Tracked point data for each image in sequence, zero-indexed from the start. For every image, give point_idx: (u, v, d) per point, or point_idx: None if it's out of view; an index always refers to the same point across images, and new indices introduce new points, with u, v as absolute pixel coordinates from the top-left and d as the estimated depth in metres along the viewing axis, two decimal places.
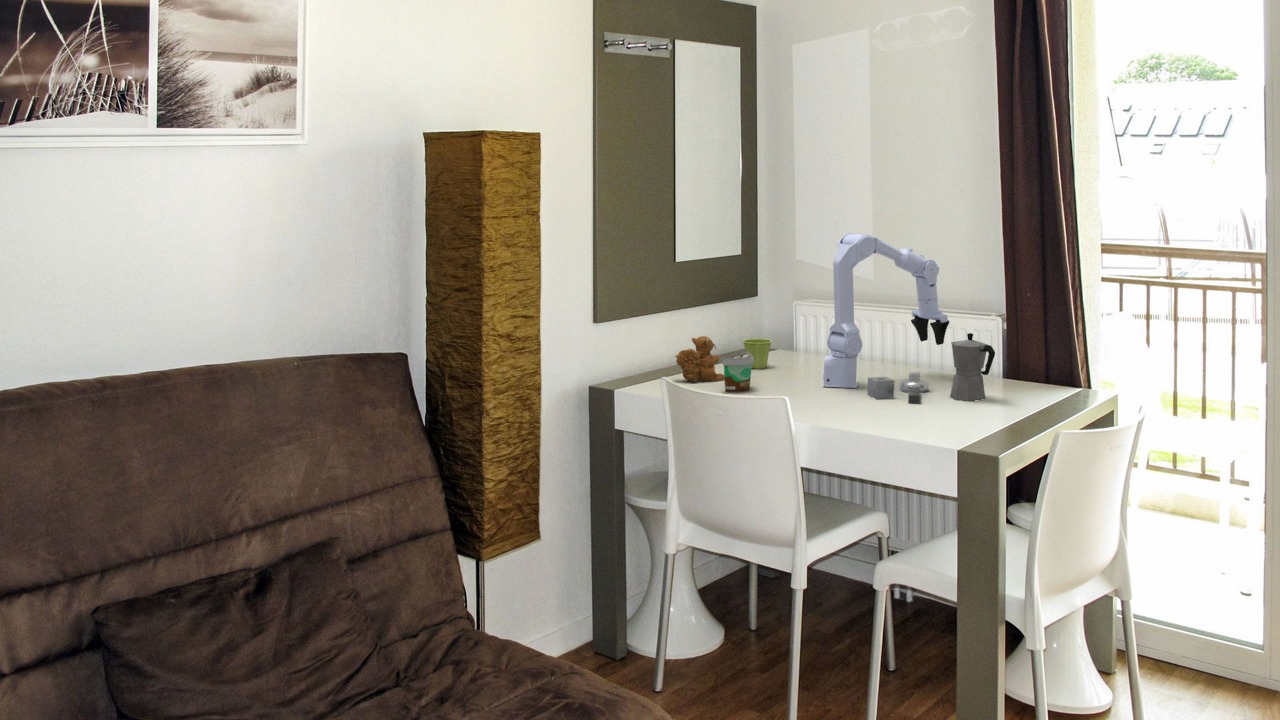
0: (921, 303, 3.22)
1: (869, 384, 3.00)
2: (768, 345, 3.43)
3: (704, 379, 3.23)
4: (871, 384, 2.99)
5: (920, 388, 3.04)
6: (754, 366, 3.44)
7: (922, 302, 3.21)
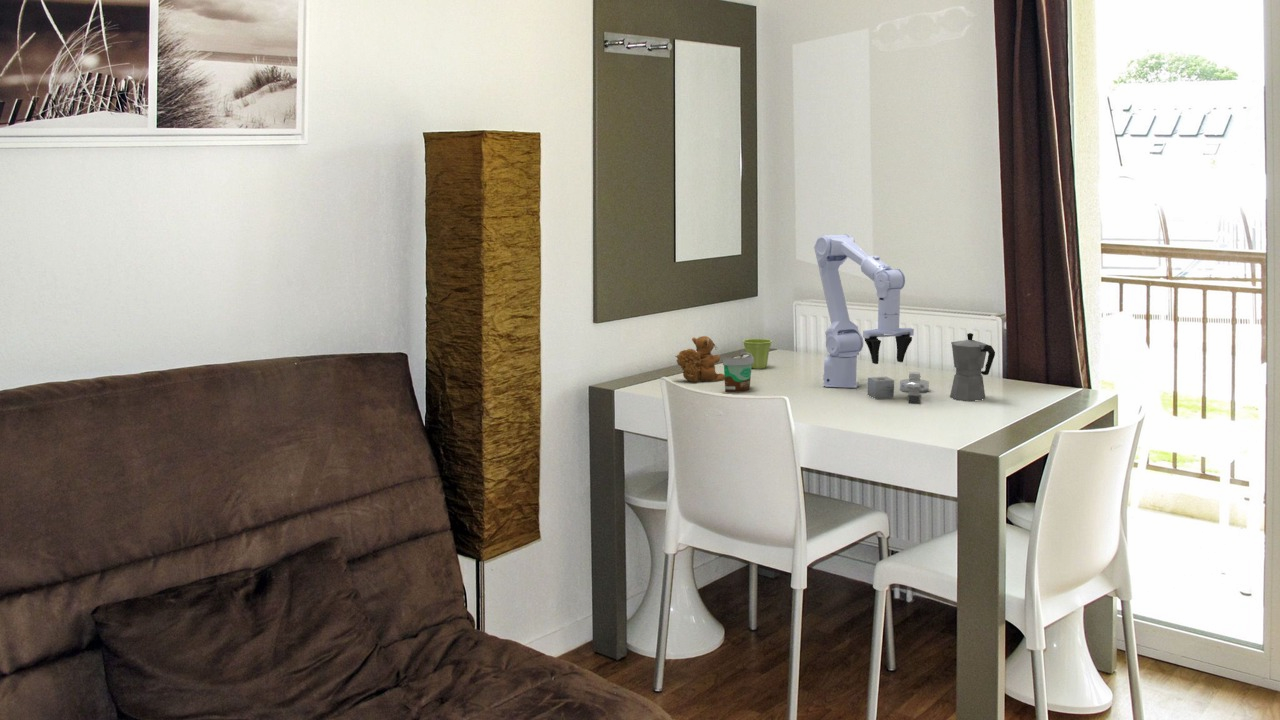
0: None
1: (869, 384, 3.00)
2: (768, 345, 3.43)
3: (704, 379, 3.23)
4: (871, 384, 2.99)
5: (920, 388, 3.04)
6: (754, 366, 3.44)
7: None
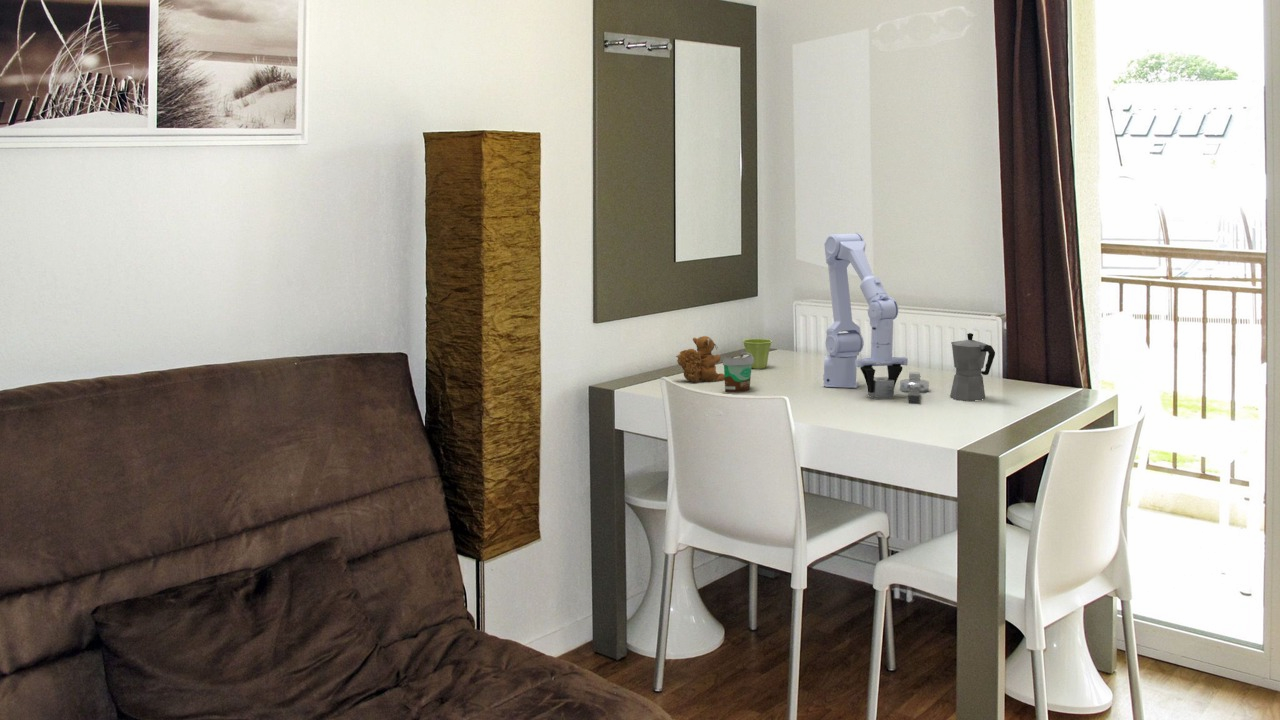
0: None
1: None
2: (768, 345, 3.43)
3: (705, 379, 3.23)
4: None
5: (920, 388, 3.04)
6: (754, 366, 3.44)
7: None
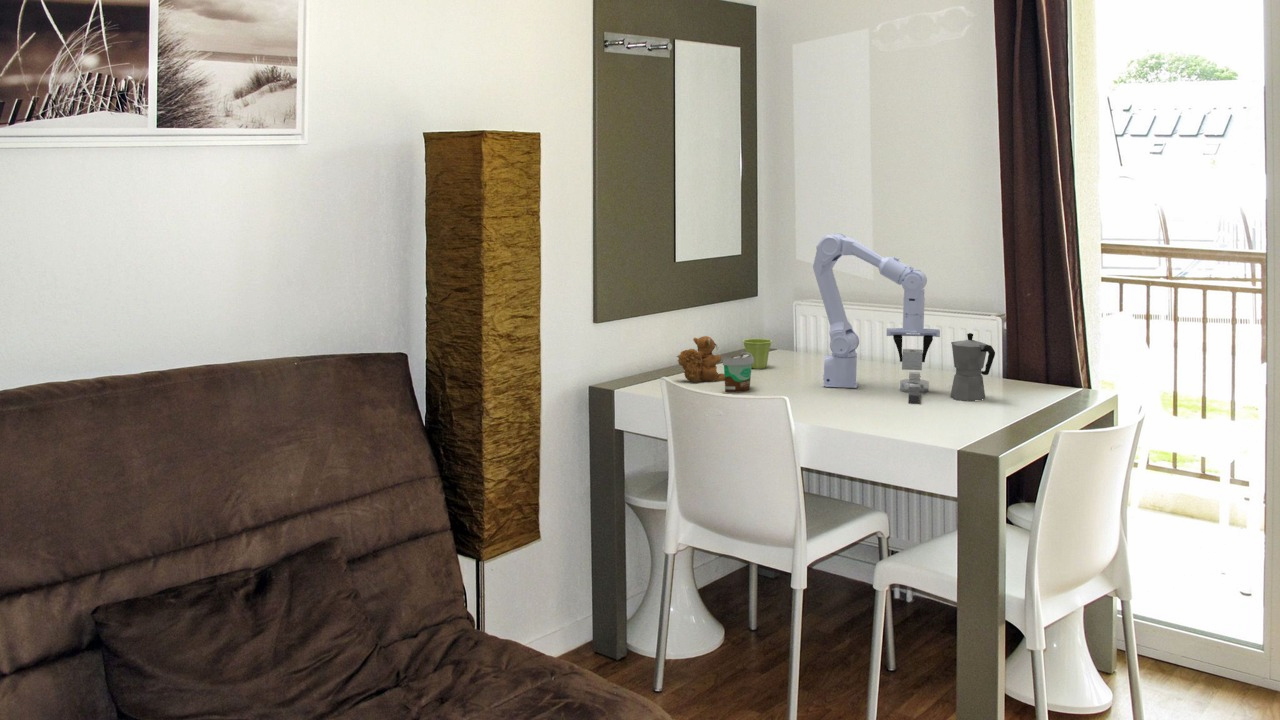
0: None
1: None
2: (768, 345, 3.43)
3: (706, 379, 3.23)
4: None
5: (920, 388, 3.04)
6: (754, 366, 3.44)
7: None
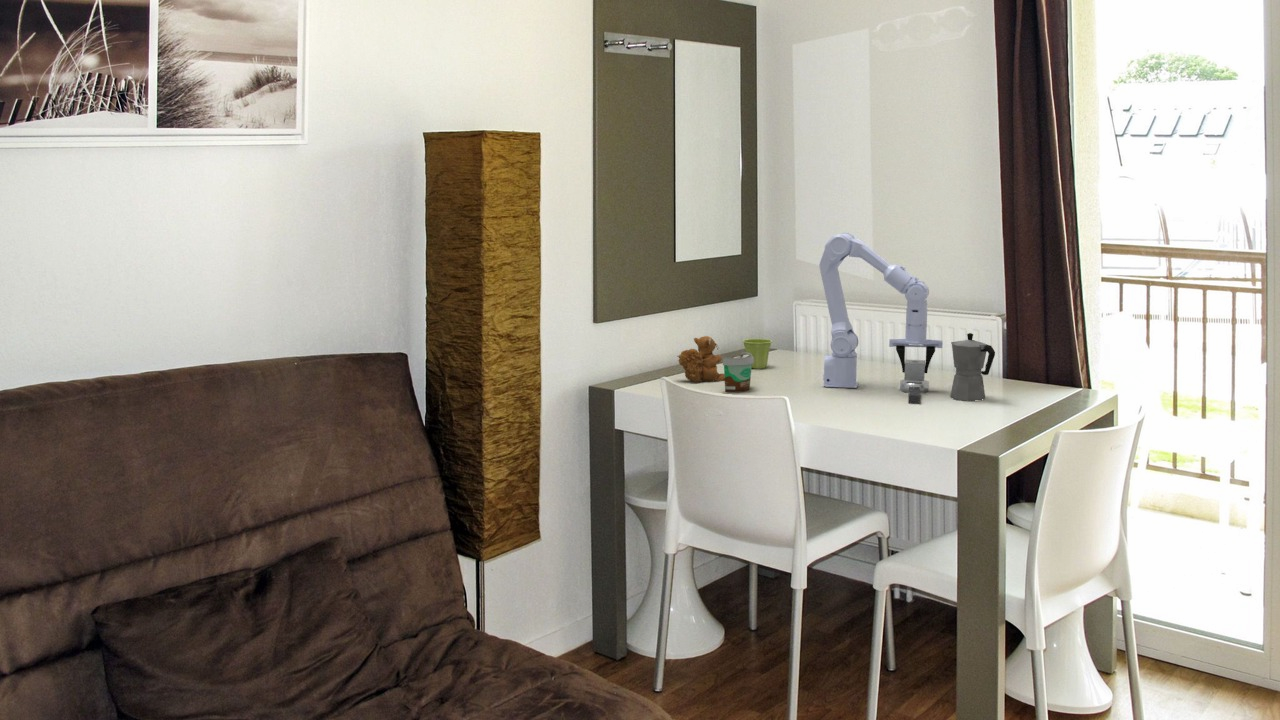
0: None
1: None
2: (768, 345, 3.43)
3: (706, 379, 3.23)
4: None
5: (920, 388, 3.04)
6: (754, 366, 3.44)
7: None
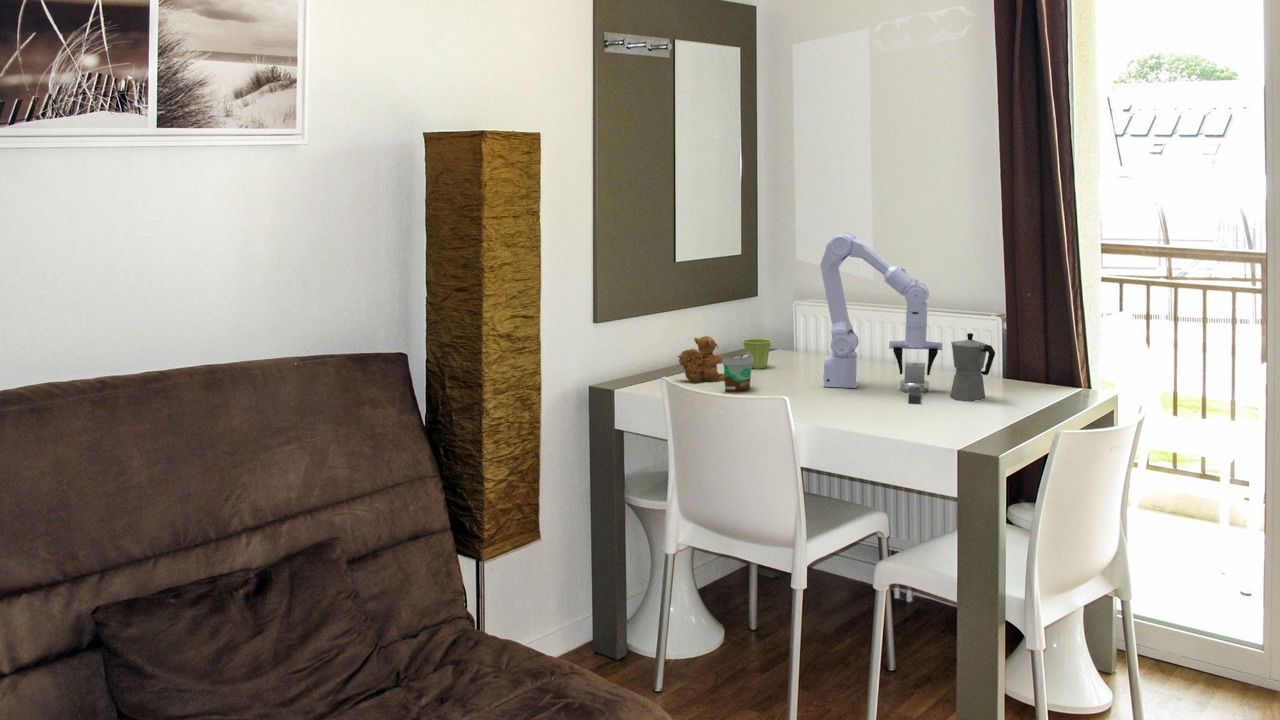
0: None
1: None
2: (768, 345, 3.43)
3: (707, 379, 3.23)
4: None
5: (920, 388, 3.04)
6: (754, 366, 3.44)
7: None
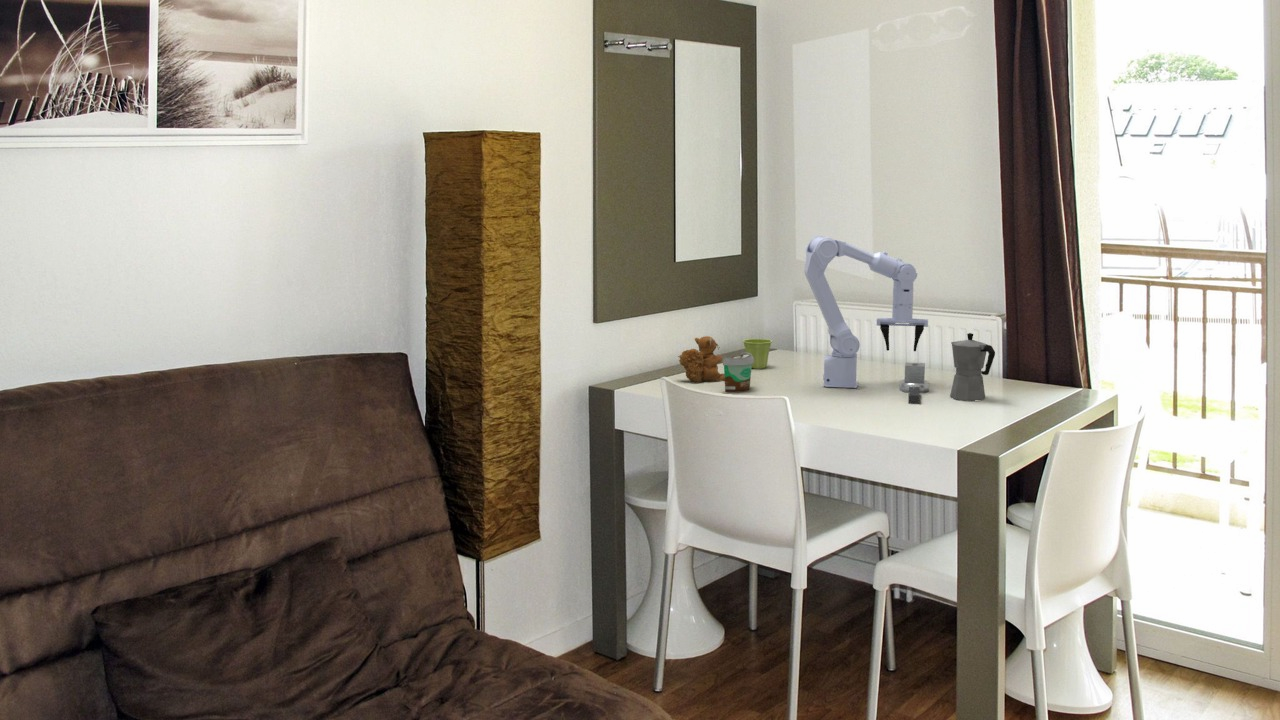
0: None
1: None
2: (768, 345, 3.43)
3: (707, 379, 3.23)
4: None
5: (920, 388, 3.04)
6: (754, 366, 3.44)
7: None
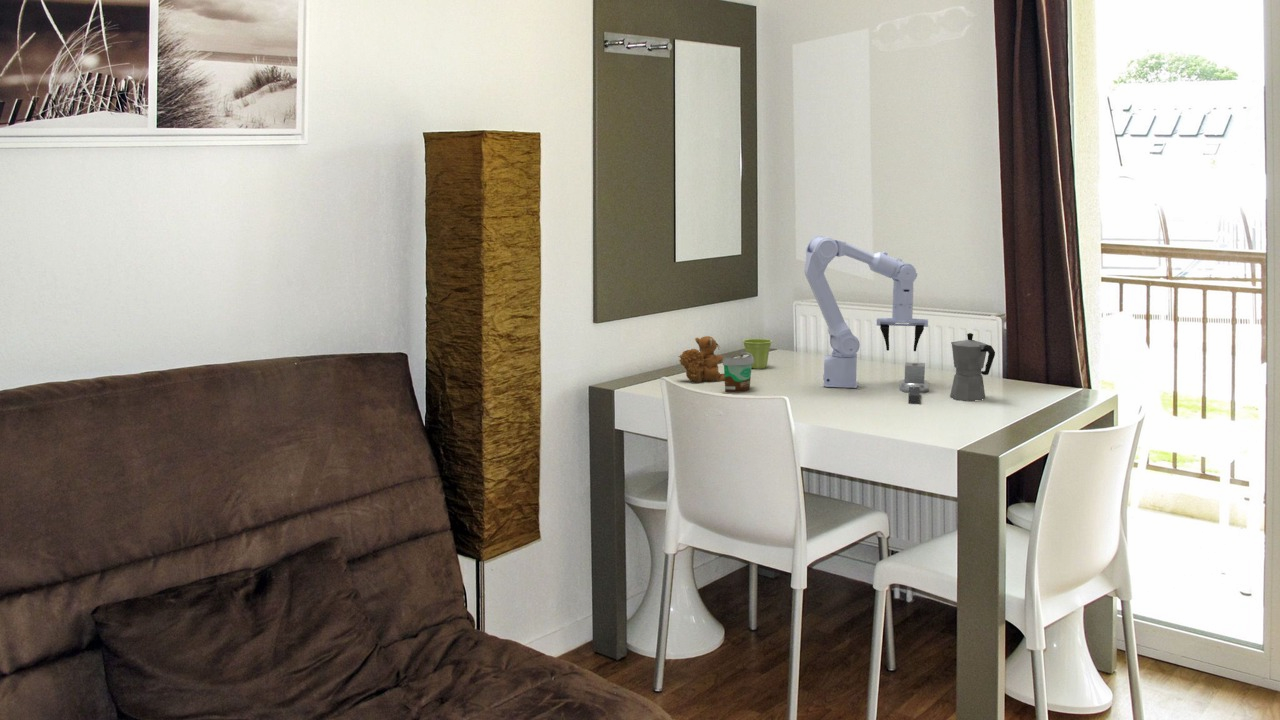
0: None
1: None
2: (768, 345, 3.43)
3: (708, 379, 3.23)
4: None
5: (920, 388, 3.04)
6: (754, 366, 3.44)
7: None
